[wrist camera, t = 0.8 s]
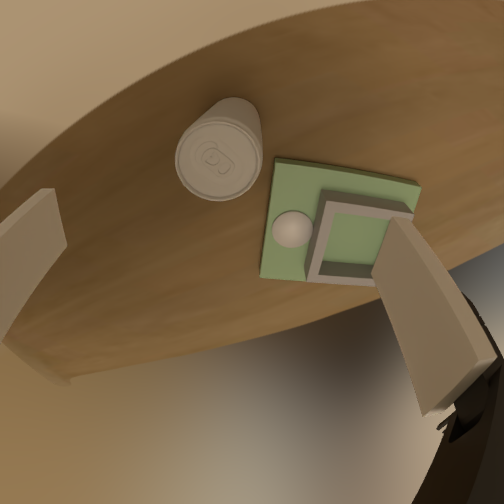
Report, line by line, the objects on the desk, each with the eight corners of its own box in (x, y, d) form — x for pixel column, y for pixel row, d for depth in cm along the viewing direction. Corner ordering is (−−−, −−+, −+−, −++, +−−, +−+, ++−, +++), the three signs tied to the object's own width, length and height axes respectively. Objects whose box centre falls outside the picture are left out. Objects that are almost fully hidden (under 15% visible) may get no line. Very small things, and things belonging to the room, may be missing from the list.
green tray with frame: (259, 269, 34) (259, 293, 31) (274, 157, 27) (277, 171, 24) (380, 278, 35) (389, 300, 32) (415, 181, 28) (433, 198, 24)
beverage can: (231, 85, 23) (211, 99, 13) (272, 120, 25) (282, 160, 15) (196, 124, 25) (155, 167, 15) (236, 157, 27) (222, 219, 17)
